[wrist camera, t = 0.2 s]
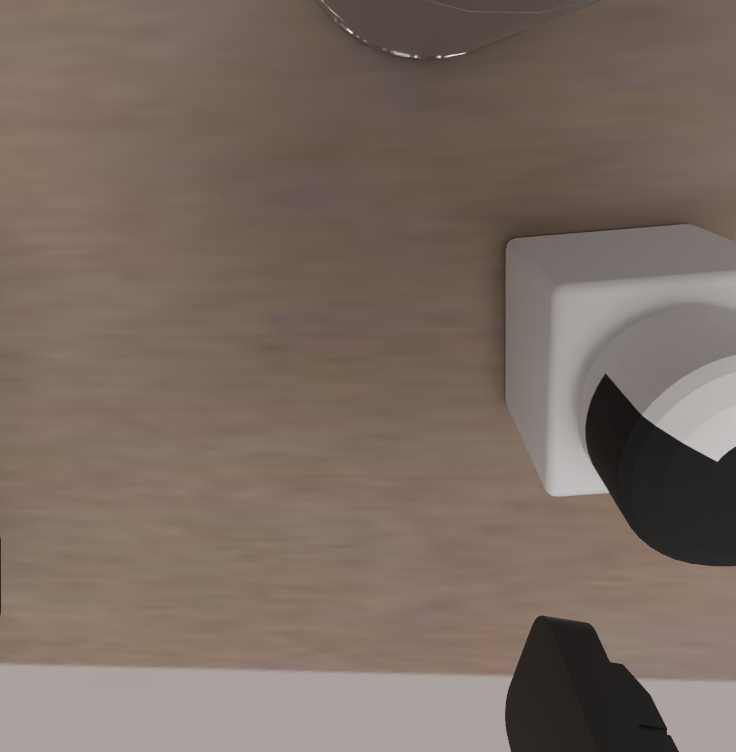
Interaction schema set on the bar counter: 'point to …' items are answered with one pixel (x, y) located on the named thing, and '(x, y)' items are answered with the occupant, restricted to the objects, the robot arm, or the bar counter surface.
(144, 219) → the bar counter surface
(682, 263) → the medicine bottle
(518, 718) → the robot arm
